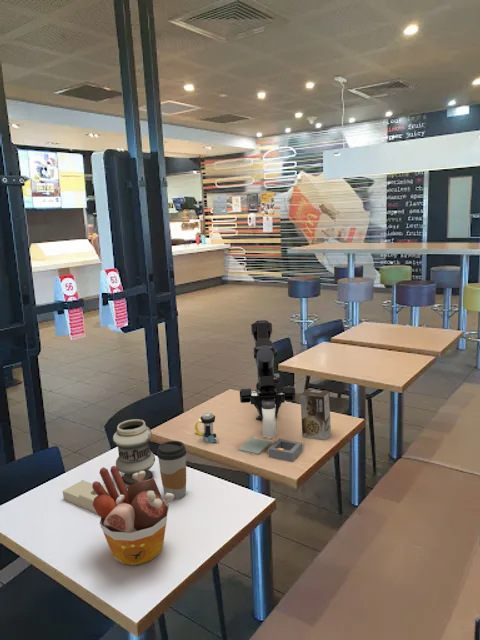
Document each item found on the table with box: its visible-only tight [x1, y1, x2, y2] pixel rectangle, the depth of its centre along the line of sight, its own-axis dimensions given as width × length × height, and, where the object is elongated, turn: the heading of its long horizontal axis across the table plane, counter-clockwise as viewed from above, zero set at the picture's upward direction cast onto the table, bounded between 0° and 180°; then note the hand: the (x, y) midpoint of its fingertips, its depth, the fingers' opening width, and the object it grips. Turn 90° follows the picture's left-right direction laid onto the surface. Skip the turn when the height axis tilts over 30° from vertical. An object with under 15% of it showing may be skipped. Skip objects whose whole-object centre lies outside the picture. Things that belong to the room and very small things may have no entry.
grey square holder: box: [267, 438, 304, 463], centre depth 168 cm, size 9×9×3 cm
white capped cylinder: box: [261, 399, 277, 439], centre depth 169 cm, size 4×4×12 cm
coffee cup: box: [156, 440, 187, 501], centre depth 145 cm, size 8×8×15 cm
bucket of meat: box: [92, 465, 174, 566], centre depth 120 cm, size 20×16×20 cm
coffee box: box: [299, 388, 332, 441], centre depth 180 cm, size 9×6×16 cm
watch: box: [194, 418, 204, 436], centre depth 187 cm, size 6×3×6 cm, turn 67°
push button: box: [199, 412, 219, 444], centre depth 180 cm, size 7×5×10 cm
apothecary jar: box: [112, 418, 156, 487], centre depth 156 cm, size 12×12×18 cm
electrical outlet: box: [62, 479, 120, 514], centre depth 145 cm, size 7×4×18 cm
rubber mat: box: [237, 437, 273, 456], centre depth 175 cm, size 10×8×1 cm
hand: (269, 418), depth 167 cm, fingers closed on white capped cylinder, 4 cm apart
